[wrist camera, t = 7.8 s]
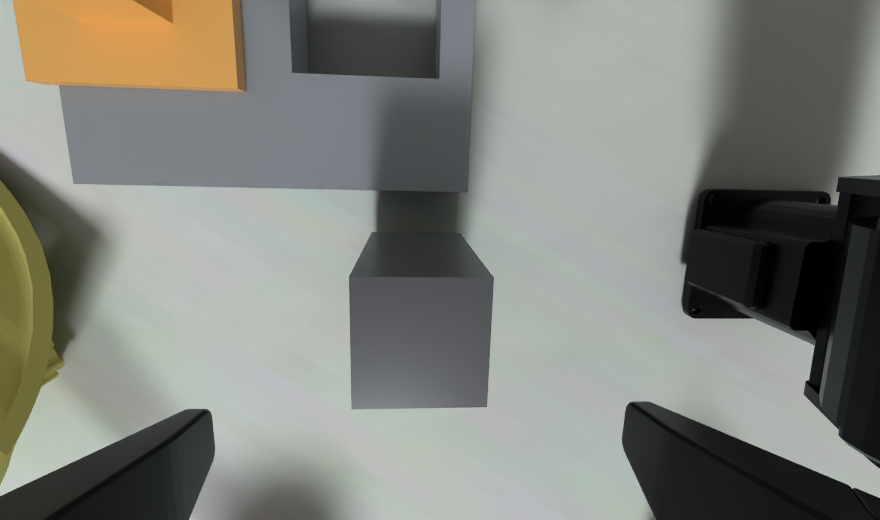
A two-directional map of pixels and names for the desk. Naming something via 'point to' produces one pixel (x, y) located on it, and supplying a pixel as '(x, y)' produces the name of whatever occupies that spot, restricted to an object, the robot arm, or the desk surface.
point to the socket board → (286, 119)
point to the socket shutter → (133, 43)
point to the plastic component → (22, 323)
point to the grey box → (419, 323)
